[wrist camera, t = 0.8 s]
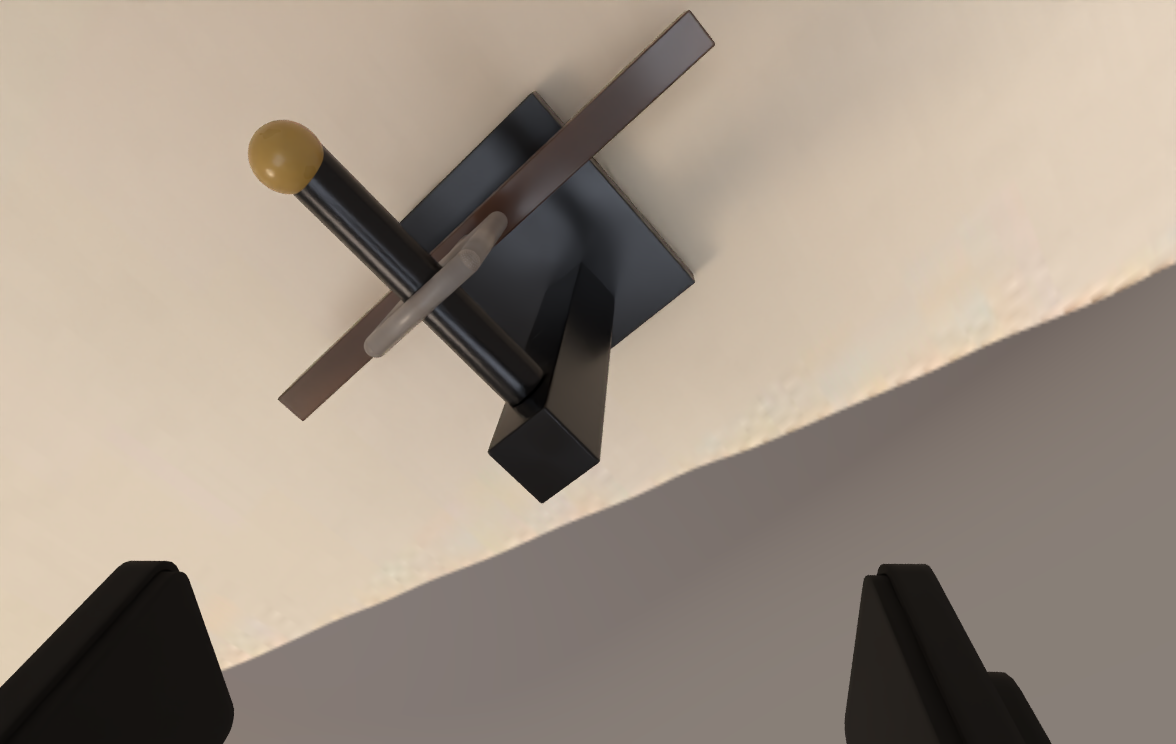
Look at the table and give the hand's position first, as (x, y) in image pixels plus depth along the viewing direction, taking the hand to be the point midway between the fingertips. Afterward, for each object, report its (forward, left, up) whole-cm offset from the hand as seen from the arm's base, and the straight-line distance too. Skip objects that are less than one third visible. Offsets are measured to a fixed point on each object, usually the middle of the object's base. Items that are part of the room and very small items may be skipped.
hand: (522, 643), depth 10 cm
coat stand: (-2, -3, -26) cm, 27 cm away
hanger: (-4, -3, -21) cm, 22 cm away
